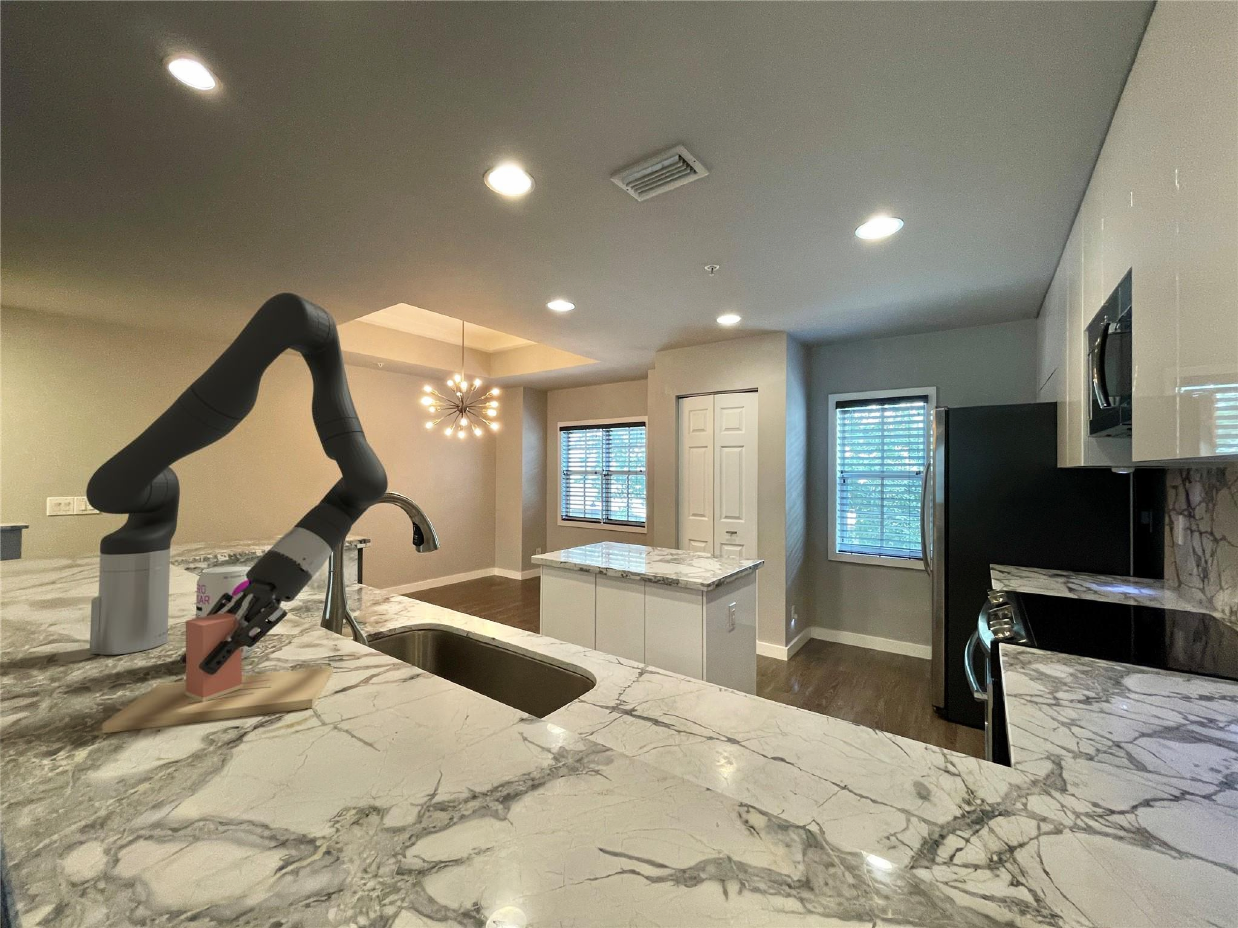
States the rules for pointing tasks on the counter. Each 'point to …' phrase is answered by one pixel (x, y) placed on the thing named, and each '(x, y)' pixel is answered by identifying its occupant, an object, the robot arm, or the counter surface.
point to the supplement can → (221, 590)
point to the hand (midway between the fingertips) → (195, 667)
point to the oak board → (223, 700)
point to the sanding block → (198, 646)
